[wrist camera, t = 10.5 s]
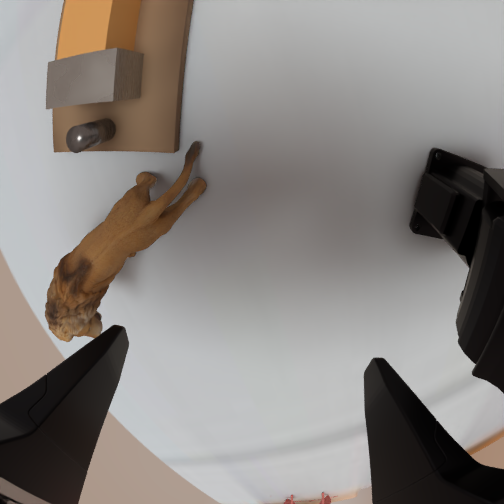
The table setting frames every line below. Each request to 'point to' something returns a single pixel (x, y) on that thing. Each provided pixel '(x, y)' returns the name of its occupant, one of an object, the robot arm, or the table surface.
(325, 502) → the figurine
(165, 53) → the board
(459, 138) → the table surface
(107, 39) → the hammer
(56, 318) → the lion figurine
